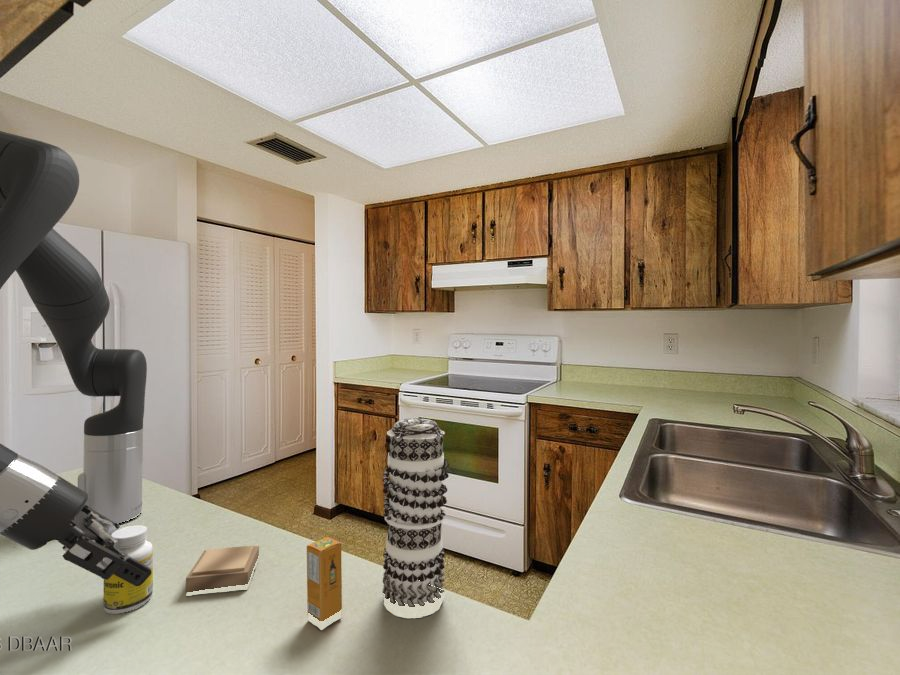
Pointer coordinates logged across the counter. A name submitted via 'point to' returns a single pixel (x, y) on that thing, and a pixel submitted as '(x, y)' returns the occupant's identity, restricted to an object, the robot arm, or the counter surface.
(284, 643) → the counter surface
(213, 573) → the stand
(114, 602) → the supplement bottle
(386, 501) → the decorative candle
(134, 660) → the counter surface
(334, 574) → the supplement box
